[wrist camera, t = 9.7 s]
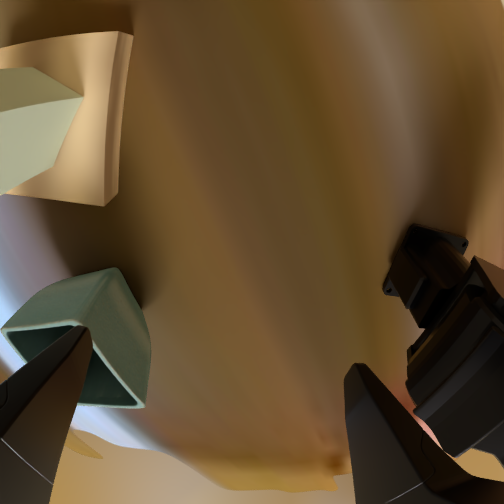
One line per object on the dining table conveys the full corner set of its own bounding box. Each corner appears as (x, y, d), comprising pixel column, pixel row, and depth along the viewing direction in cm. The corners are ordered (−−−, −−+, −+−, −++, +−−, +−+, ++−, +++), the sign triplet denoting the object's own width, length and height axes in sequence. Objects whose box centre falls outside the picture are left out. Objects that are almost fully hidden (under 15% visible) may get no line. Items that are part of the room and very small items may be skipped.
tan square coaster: (136, 36, 15) (118, 31, 13) (120, 190, 21) (104, 206, 18) (14, 49, 14) (-10, 51, 12) (11, 178, 20) (-10, 191, 17)
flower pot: (49, 261, 23) (-4, 329, 16) (127, 238, 22) (76, 319, 14) (94, 333, 28) (62, 405, 20) (170, 323, 27) (148, 409, 19)
